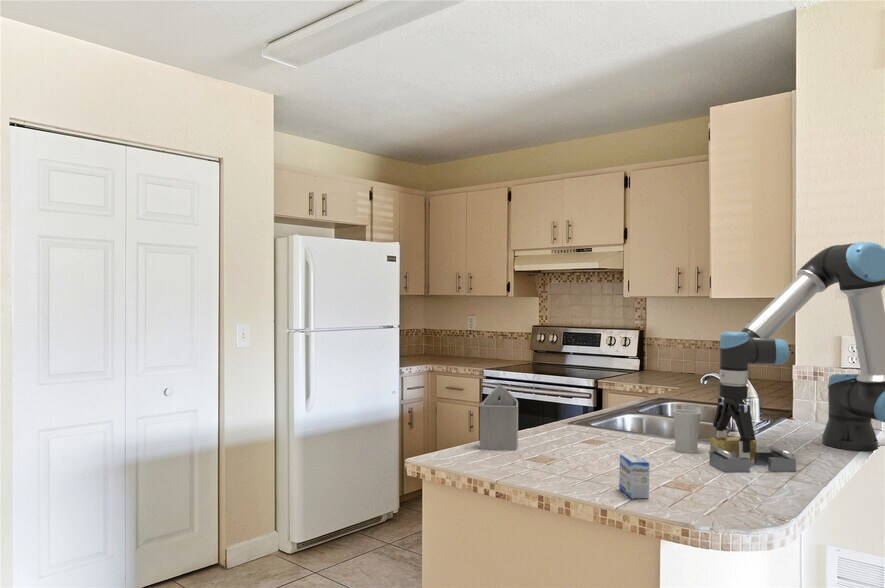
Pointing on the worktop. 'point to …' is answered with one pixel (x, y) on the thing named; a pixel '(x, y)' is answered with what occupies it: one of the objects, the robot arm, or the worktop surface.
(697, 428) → the cup
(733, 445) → the gold rectangular block
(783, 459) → the bracket
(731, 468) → the chain end
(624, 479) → the medicine box
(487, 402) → the planter
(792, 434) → the worktop surface
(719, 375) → the robot arm
